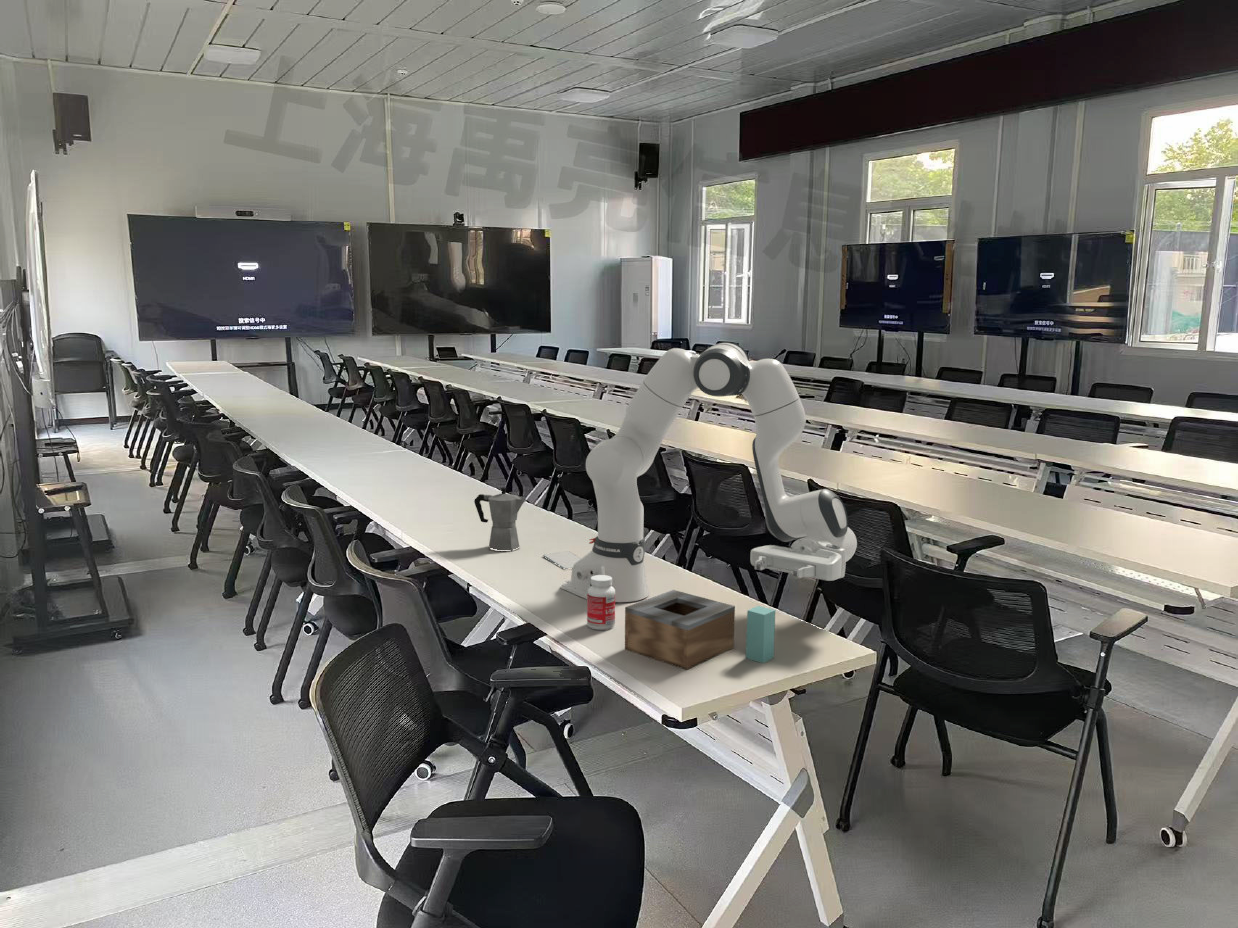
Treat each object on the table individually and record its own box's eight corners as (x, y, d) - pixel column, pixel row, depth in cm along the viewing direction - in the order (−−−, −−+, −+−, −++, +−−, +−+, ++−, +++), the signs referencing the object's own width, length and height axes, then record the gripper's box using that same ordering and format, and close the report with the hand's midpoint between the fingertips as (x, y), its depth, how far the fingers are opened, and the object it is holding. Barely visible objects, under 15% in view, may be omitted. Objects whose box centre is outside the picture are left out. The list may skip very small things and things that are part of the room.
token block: (745, 657, 185) (747, 610, 183) (756, 652, 188) (758, 605, 186) (762, 663, 182) (764, 614, 181) (773, 657, 185) (775, 610, 184)
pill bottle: (608, 632, 199) (609, 583, 197) (582, 628, 201) (582, 579, 199) (619, 623, 204) (619, 575, 202) (593, 619, 206) (594, 572, 205)
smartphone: (564, 568, 245) (542, 554, 258) (564, 572, 245) (542, 557, 258) (592, 564, 249) (568, 550, 262) (592, 568, 249) (568, 554, 262)
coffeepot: (530, 545, 270) (530, 485, 267) (521, 553, 261) (521, 491, 258) (480, 542, 273) (479, 483, 270) (469, 550, 264) (468, 489, 261)
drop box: (624, 649, 189) (625, 607, 187) (672, 629, 201) (673, 589, 199) (686, 669, 179) (687, 625, 177) (733, 647, 190) (734, 605, 189)
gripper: (769, 535, 209) (735, 547, 199) (851, 549, 196) (819, 563, 186) (769, 562, 210) (735, 575, 200) (851, 578, 197) (818, 593, 187)
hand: (776, 569), depth 193 cm, fingers open, 8 cm apart
